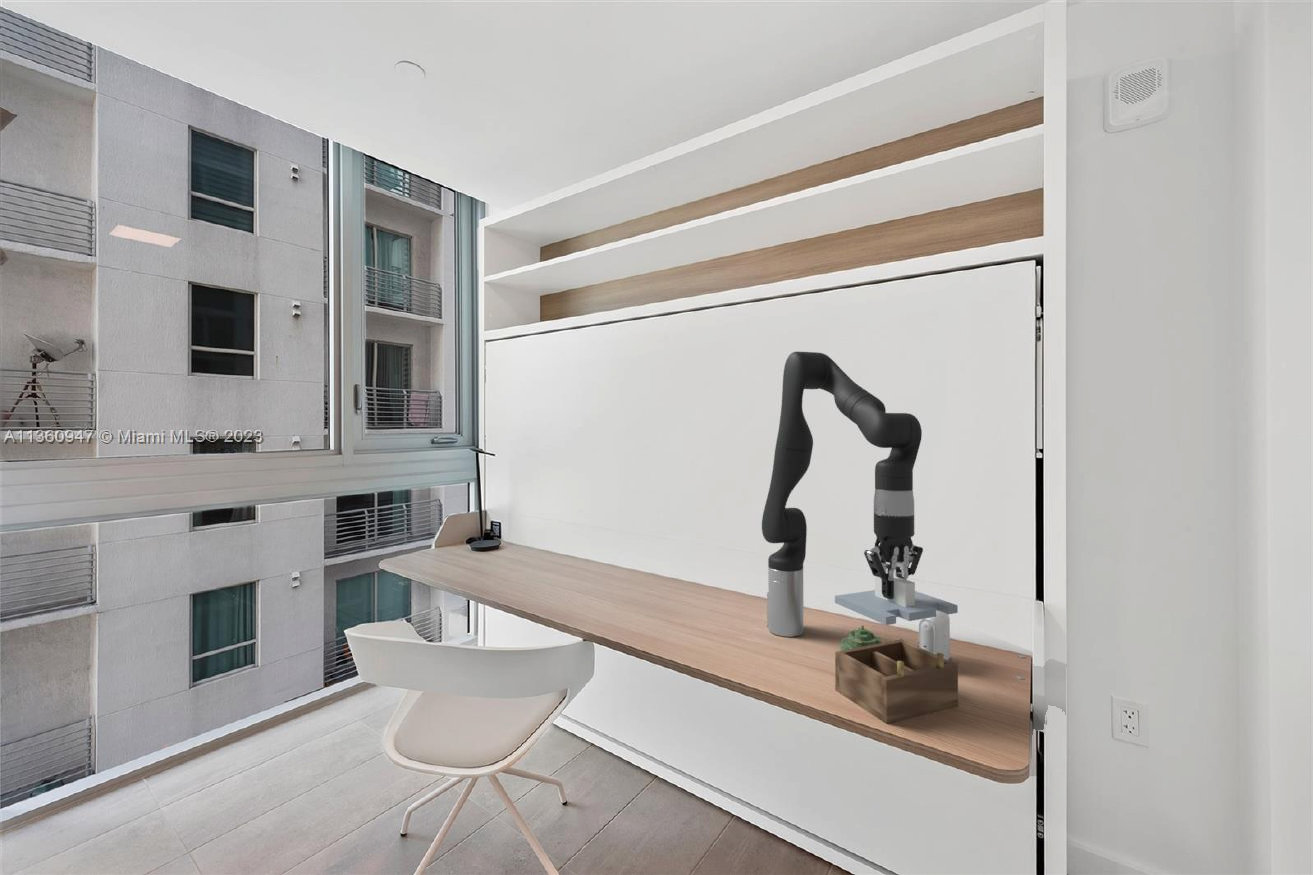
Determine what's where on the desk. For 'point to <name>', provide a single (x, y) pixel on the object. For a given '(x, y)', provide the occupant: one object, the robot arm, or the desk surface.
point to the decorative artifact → (859, 639)
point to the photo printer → (935, 634)
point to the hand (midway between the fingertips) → (894, 596)
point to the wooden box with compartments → (896, 680)
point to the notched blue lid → (895, 603)
